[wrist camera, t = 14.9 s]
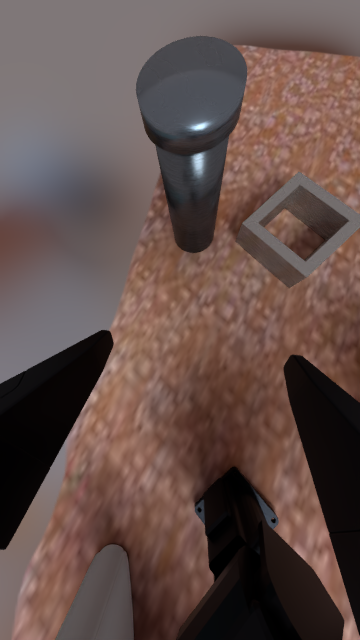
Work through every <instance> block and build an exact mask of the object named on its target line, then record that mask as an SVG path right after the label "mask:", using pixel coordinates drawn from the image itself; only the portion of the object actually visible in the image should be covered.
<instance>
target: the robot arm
mask: <svg viewBox="0 0 360 640" xmlns="http://www.w3.org/2000/svg"><path fill="white" fill-rule="evenodd" d="M113 344H114V343H113V339H112V335H111V332H110V331H107V330H101V331H99V332H97V333H95V334H93V335H91V336H89V337H88V338H86V339H84V340H82V341H80V342H78V343H76V344H75V345H73V346H71V347H69V348H67V349H65V350H63V351H62V352H59V353H58V354H56V355H54V356H52V357H50V358H48V359H46V360H44V361H43V362H41V363H39V364H37V365H35V366H33V367H31V368H29V369H28V370H27V371H24V372H22V373H20V374H18V375H16V376H15V377H13V378H10V379H9V380H7V381H5V382H3V383H1V384H0V550H4V549H6V548H7V546H8V545H9V543H10V541H11V539H12V538H13V536H14V534H15V532H16V530H17V528H18V527H19V525H20V523H21V521H22V519H23V518H24V516H25V514H26V512H27V510H28V508H29V506H30V505H31V503H32V501H33V499H34V497H35V495H36V494H37V492H38V490H39V488H40V486H41V484H42V483H43V481H44V479H45V477H46V475H47V473H48V472H49V470H50V467H51V466H52V464H53V462H54V460H55V458H56V456H57V455H58V453H59V451H60V449H61V447H62V445H63V444H64V442H65V440H66V438H67V436H68V434H69V433H70V431H71V429H72V427H73V425H74V423H75V422H76V420H77V418H78V416H79V414H80V412H81V410H82V409H83V407H84V405H85V403H86V401H87V399H88V398H89V396H90V394H91V392H92V390H93V388H94V387H95V385H96V383H97V381H98V379H99V377H100V375H101V374H102V372H103V369H104V367H105V365H106V362H107V360H108V357H109V355H110V353H111V350H112V348H113ZM284 375H285V380H286V386H287V391H288V397H289V401H290V405H291V408H292V412H293V415H294V418H295V422H296V425H297V428H298V432H299V435H300V438H301V442H302V445H303V448H304V452H305V455H306V458H307V462H308V465H309V468H310V472H311V475H312V478H313V482H314V485H315V488H316V492H317V495H318V498H319V502H320V505H321V508H322V512H323V515H324V518H325V522H326V525H327V528H328V531H329V536H330V539H331V542H332V546H333V549H334V552H335V555H336V559H337V562H338V565H339V569H340V572H341V575H342V579H343V582H344V585H345V589H346V592H347V595H348V599H349V602H350V605H351V609H352V612H353V615H354V619H355V622H356V625H357V629H358V632H359V635H360V403H359V402H358V401H357V400H355V399H354V398H353V397H352V396H351V395H349V394H348V393H347V392H346V391H344V390H343V389H342V388H341V387H340V386H338V385H337V384H336V383H335V382H333V381H332V380H331V379H330V378H329V377H327V376H326V375H325V374H324V373H322V372H321V371H320V370H319V369H317V368H316V367H315V366H314V365H313V364H311V363H310V362H309V361H308V360H306V359H305V358H304V357H303V356H300V355H291V356H290V357H289V359H288V360H287V362H286V363H285V365H284ZM234 472H237V474H233V473H234ZM198 507H200V508H201V509H198ZM195 512H196V514H197V515H198V517H199V518H200V519H201V521H202V522H203V523H204V525H205V534H206V536H207V541H208V558H209V568H210V570H211V571H212V572H213V574H214V584H213V585H212V586H211V588H210V589H209V590H208V592H207V593H206V594H205V596H204V597H203V598H202V600H201V601H200V602H199V604H198V605H197V606H196V608H195V609H194V610H193V612H192V613H191V614H190V616H189V617H188V618H187V620H186V621H185V622H184V624H183V625H182V626H181V628H180V630H179V633H178V635H177V638H176V640H342V637H343V629H344V619H343V617H342V615H341V613H340V611H339V610H338V608H337V607H336V605H335V603H334V602H333V600H332V599H331V597H330V595H329V594H328V592H327V591H326V589H325V587H324V586H323V584H322V582H321V581H320V579H319V578H318V576H317V574H316V573H315V571H314V570H313V569H312V568H311V567H310V566H309V565H308V564H307V563H306V562H305V561H304V560H303V559H302V558H301V557H300V556H299V555H298V554H297V553H296V552H295V551H294V550H293V549H292V548H291V547H290V546H289V545H288V544H287V543H286V542H285V541H284V540H283V539H282V538H281V537H280V536H279V535H278V534H277V533H276V532H275V531H274V530H273V529H274V528H275V527H276V526H277V525H278V522H279V521H278V518H277V516H276V514H275V512H274V511H273V510H272V509H271V508H270V507H269V505H268V504H267V503H266V502H265V501H264V499H263V498H262V497H261V496H260V495H259V493H258V492H257V491H256V490H255V489H254V487H253V486H252V485H251V484H250V483H249V481H248V480H247V479H246V478H245V477H244V475H243V474H242V473H241V472H240V471H239V470H238V468H236V467H232V468H231V469H230V470H229V471H228V472H227V473H226V474H225V475H224V476H223V477H222V478H219V479H218V480H217V481H216V482H215V483H214V484H213V485H212V486H211V487H210V488H209V489H208V490H207V491H206V492H205V493H204V495H203V496H202V497H201V498H200V499H199V500H198V501H197V502H196V504H195ZM272 518H274V519H272Z"/></svg>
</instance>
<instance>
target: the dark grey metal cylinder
mask: <svg viewBox="0 0 360 640" xmlns="http://www.w3.org/2000/svg"><path fill="white" fill-rule="evenodd" d="M246 80H247V66H246V62H245V60H244V58H243V56H242V54H241V53H240V52H239V51H238V50H237V48H235V47H234V46H233V45H232V44H230V43H228V42H226V41H224V40H221V39H218V38H214V37H207V36H196V37H189V38H184V39H181V40H178V41H175V42H172V43H170V44H168V45H166V46H165V47H163V48H161V49H160V50H159V51H157V52H156V53H155V54H154V55H153V56H151V57H150V58H149V60H148V61H147V62H146V63H145V65H144V66H143V68H142V70H141V71H140V73H139V76H138V79H137V83H136V93H137V99H138V102H139V107H140V111H141V115H142V119H143V123H144V128H145V131H146V133H147V135H148V137H149V138H150V140H151V141H152V142H153V143H154V144H155V145H156V150H157V155H158V160H159V164H160V169H161V174H162V179H163V184H164V189H165V193H166V198H167V203H168V208H169V213H170V217H171V222H172V227H173V232H174V237H175V241H176V243H177V245H178V246H179V247H180V248H181V249H182V250H184V251H186V252H190V253H197V252H200V251H203V250H205V249H206V248H207V247H208V246H209V245H210V244H211V242H212V240H213V236H214V230H215V223H216V217H217V210H218V204H219V197H220V191H221V184H222V178H223V171H224V165H225V158H226V152H227V145H228V139H229V135H230V134H231V132H232V131H233V130H234V128H235V126H236V125H237V122H238V120H239V116H240V112H241V106H242V101H243V96H244V90H245V85H246Z"/></svg>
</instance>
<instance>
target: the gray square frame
mask: <svg viewBox="0 0 360 640" xmlns="http://www.w3.org/2000/svg"><path fill="white" fill-rule="evenodd" d="M283 209H287V210H288V211H289V212H291V213H292V214H293V215H294V216H296V217H297V218H298V219H300V220H301V221H302V222H304V223H305V224H306V225H307V226H309V227H310V228H311V229H313V230H314V231H315V232H317V233H318V234H319V235H320V236H322V237H323V238H324V239H326V240H325V241H324V242H323V243H322V244H321V245H320V246H319V247H318V248H317V249H316V250H315V251H314V252H313V253H311V254H310V255H309V256H308V257H307V258H306V259H305V260H303V259H302V258H300V257H299V256H298V255H297V254H295V253H294V252H293V251H292V250H291V249H289V248H288V247H287V246H286V245H284V244H283V243H282V242H281V241H280V240H278V239H277V238H276V237H275V236H273V235H272V234H271V233H270V232H269V231H267V230H266V229H265V228H264V227H265V226H266V225H267V224H268V223H269V222H270V221H271V220H273V219H274V218H275V217H276V216H277V215H278V214H279V213H280V212H281V211H282V210H283ZM359 228H360V214H358V213H357V212H356V211H354V210H353V209H351V208H350V207H349V206H347V205H346V204H344V203H343V202H341V201H340V200H339V199H337V198H336V197H334V196H333V195H332V194H330V193H329V192H327V191H326V190H324V189H323V188H322V187H320V186H319V185H317V184H316V183H315V182H313V181H312V180H310V179H309V178H308V177H306V176H305V175H303V174H302V173H300V172H298V173H297V174H296V175H295V176H294V177H292V178H291V179H290V180H289V181H288V182H287V183H286V184H285V185H284V186H283V187H282V188H280V189H279V190H278V191H277V192H276V193H275V194H274V195H273V196H272V197H271V198H269V199H268V200H267V201H266V202H265V203H264V204H263V205H262V206H261V207H260V208H258V209H257V210H256V211H255V212H254V213H253V214H252V215H251V216H250V217H249V218H248V219H246V220H245V221H244V222H243V223H242V225H241V228H240V230H239V233H238V236H237V238H236V242H237V243H238V244H239V245H240V246H241V247H243V248H244V249H245V250H246V251H247V252H248V253H249V254H251V255H252V256H253V257H254V258H255V259H256V260H257V261H259V262H260V263H261V264H262V265H263V266H264V267H265V268H267V269H268V270H269V271H270V272H271V273H272V274H273V275H275V276H276V277H277V278H278V279H279V280H280V281H282V282H283V283H284V284H285V285H286V286H287V287H288V288H291V287H292V286H294V285H296V284H297V283H299V282H300V281H302V280H304V279H305V278H307V277H308V276H309V275H310V274H311V273H312V272H313V271H314V270H315V269H316V268H317V267H318V266H319V265H321V264H322V263H323V262H324V261H325V260H326V259H327V258H328V257H329V256H330V255H331V254H332V253H333V252H334V251H335V250H336V249H337V248H339V247H340V246H341V245H342V244H343V243H344V242H345V241H346V240H347V239H348V238H349V237H350V236H351V235H352V234H353V233H354V232H355V231H357V230H358V229H359Z"/></svg>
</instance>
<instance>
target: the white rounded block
mask: <svg viewBox="0 0 360 640" xmlns="http://www.w3.org/2000/svg"><path fill="white" fill-rule="evenodd" d="M55 640H134V627H133V609H132V594H131V583H130V572H129V563H128V557H127V553H126V551H124V550H123V548H122V547H121V546H118V545H114V544H111V545H107V546H105V547H104V548H103V549H102V550H101V551H100V553H97V554H96V555H95V557H94V559H93V561H92V563H91V565H90V567H89V569H88V571H87V573H86V575H85V577H84V579H83V582H82V584H81V586H80V588H79V590H78V592H77V594H76V596H75V599H74V601H73V603H72V605H71V607H70V609H69V611H68V613H67V615H66V617H65V620H64V622H63V624H62V626H61V628H60V630H59V632H58V634H57V636H56V639H55Z"/></svg>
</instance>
